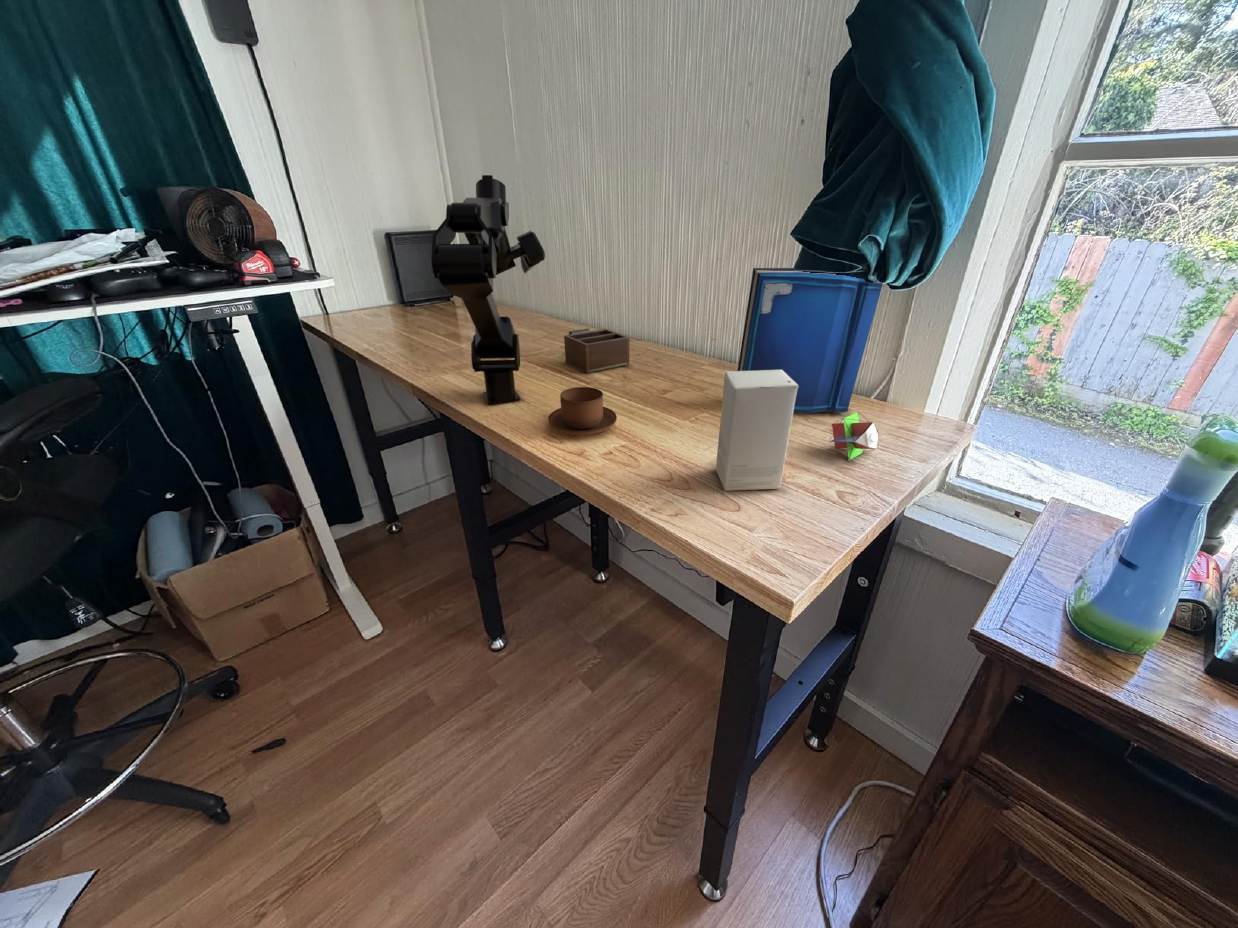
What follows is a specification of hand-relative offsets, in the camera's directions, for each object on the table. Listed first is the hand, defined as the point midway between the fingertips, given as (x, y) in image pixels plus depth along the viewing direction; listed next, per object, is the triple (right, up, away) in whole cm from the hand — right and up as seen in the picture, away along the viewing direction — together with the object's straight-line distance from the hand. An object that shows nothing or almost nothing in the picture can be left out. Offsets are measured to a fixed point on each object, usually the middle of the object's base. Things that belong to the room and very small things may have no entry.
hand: (506, 279), depth 114 cm
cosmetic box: (+45, -45, -43) cm, 77 cm away
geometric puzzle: (+63, -41, -36) cm, 83 cm away
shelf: (+20, -18, +6) cm, 27 cm away
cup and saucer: (+20, -36, -27) cm, 49 cm away
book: (+59, -32, -19) cm, 70 cm away
